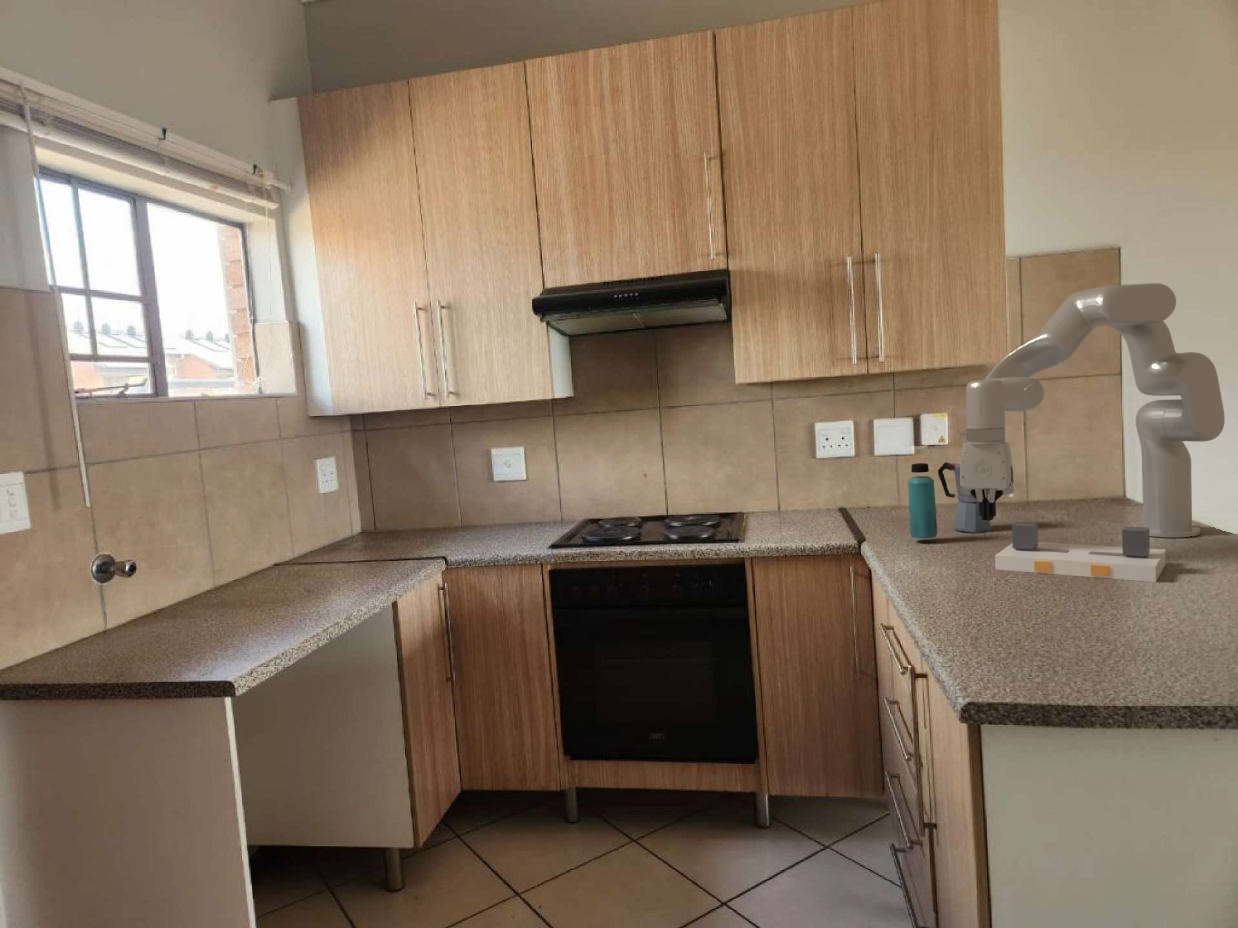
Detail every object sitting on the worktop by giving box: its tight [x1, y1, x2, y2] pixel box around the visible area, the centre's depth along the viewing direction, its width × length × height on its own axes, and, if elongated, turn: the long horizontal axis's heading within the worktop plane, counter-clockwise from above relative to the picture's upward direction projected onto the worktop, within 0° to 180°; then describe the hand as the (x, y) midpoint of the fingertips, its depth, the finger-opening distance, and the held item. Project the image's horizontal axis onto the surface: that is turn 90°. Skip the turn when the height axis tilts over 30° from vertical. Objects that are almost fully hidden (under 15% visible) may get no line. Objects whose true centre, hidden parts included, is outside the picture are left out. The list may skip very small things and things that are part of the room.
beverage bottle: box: [907, 462, 939, 539], centre depth 195 cm, size 6×7×20 cm
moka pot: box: [937, 462, 992, 534], centre depth 205 cm, size 10×15×20 cm, turn 58°
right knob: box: [1121, 525, 1151, 556], centre depth 154 cm, size 4×4×5 cm
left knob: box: [1011, 521, 1039, 549], centre depth 167 cm, size 4×4×5 cm
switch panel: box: [994, 541, 1167, 583], centre depth 161 cm, size 16×28×3 cm, turn 49°
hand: (987, 519), depth 171 cm, fingers closed
